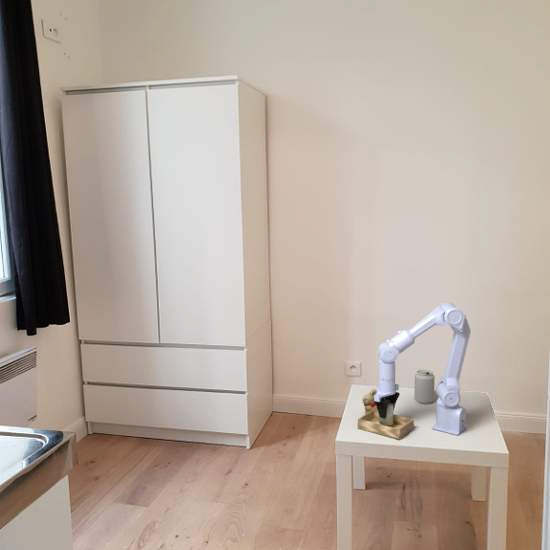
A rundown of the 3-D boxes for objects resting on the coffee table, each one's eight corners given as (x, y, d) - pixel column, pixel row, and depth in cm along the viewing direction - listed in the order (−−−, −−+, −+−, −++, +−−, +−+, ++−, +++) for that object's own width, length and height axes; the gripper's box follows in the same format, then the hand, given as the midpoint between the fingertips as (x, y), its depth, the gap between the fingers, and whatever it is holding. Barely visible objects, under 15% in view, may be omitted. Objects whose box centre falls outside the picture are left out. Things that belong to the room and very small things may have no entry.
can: (433, 405, 226) (434, 375, 224) (413, 403, 228) (414, 374, 226) (434, 398, 233) (434, 369, 231) (414, 396, 235) (415, 368, 233)
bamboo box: (413, 429, 205) (413, 419, 205) (399, 440, 197) (399, 430, 196) (373, 418, 215) (373, 409, 214) (357, 428, 206) (357, 419, 206)
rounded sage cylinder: (395, 421, 206) (395, 403, 205) (389, 426, 202) (389, 408, 201) (382, 418, 209) (382, 401, 208) (376, 423, 205) (376, 405, 204)
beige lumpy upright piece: (367, 408, 224) (367, 383, 222) (386, 412, 220) (387, 387, 218) (361, 413, 219) (361, 388, 218) (381, 417, 215) (381, 392, 214)
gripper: (386, 370, 211) (385, 406, 213) (366, 381, 200) (366, 419, 202) (404, 373, 207) (403, 410, 209) (384, 385, 196) (384, 424, 198)
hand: (386, 415), depth 205 cm, fingers closed on rounded sage cylinder, 5 cm apart
